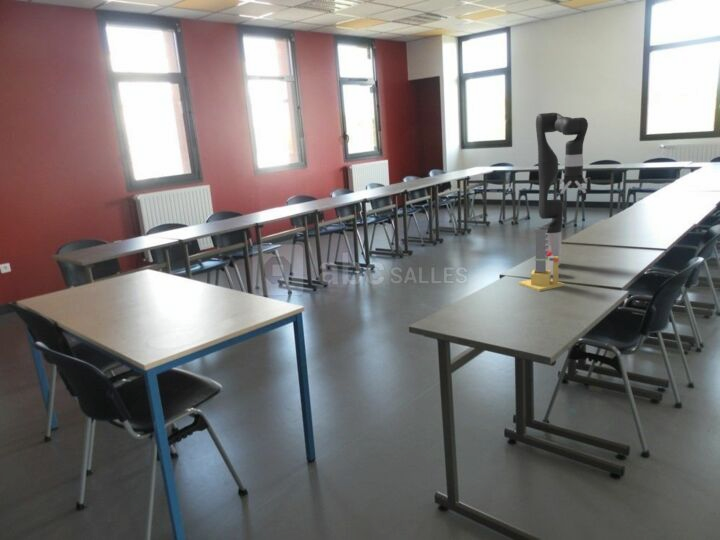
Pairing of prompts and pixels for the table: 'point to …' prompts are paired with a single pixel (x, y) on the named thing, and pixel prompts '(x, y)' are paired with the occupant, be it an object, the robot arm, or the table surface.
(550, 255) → the pill bottle
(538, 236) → the column
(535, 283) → the stand base
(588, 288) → the table surface
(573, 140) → the robot arm
